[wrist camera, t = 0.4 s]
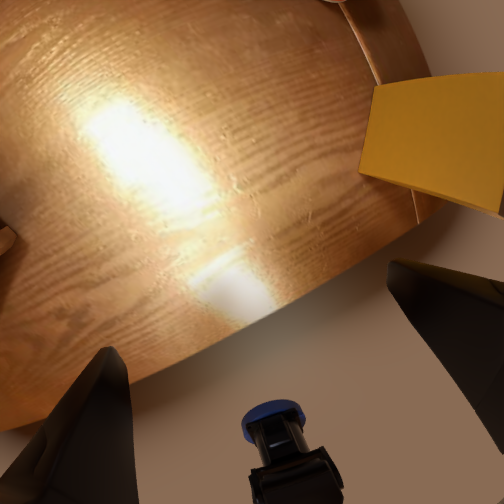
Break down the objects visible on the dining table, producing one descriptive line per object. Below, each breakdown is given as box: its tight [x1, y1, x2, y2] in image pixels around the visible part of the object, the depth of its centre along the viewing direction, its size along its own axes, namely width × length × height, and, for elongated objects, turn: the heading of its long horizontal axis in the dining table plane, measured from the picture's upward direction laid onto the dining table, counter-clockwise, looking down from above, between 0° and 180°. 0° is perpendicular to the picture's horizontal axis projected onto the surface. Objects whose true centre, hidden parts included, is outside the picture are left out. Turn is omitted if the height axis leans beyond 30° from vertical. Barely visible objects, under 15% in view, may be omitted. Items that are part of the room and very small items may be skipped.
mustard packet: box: [358, 72, 504, 220], centre depth 14 cm, size 7×4×14 cm, turn 168°
